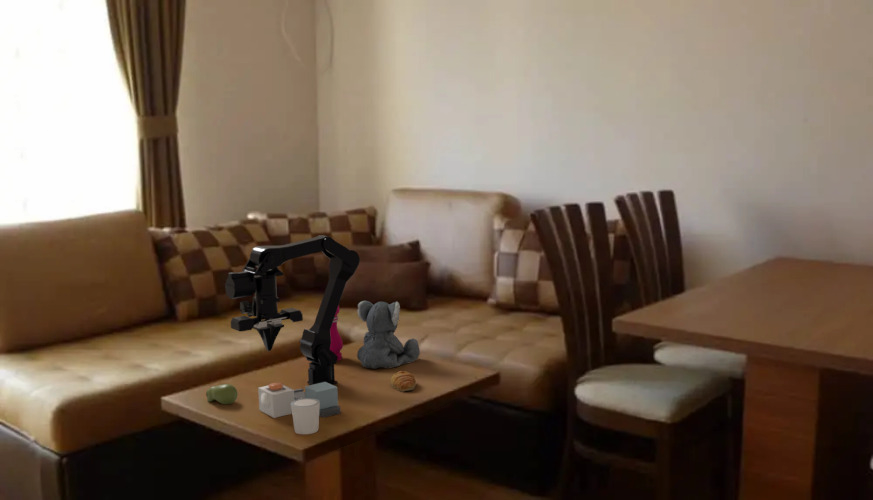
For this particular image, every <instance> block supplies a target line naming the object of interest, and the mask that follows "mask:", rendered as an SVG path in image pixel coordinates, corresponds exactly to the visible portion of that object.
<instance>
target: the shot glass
mask: <svg viewBox="0 0 873 500" xmlns="http://www.w3.org/2000/svg"><path fill="white" fill-rule="evenodd" d="M291 408H292V414H291V415H292V421H293V427H294V428H293V429H294V432H295V433H296V434H298V435H312V434H315V433H317V432H318V431H319V424H320V421H319V420H320V416H319V408H320V402H319V400H317V399H312V398H304V399H298V400H295V401H293V402H292V403H291Z"/></svg>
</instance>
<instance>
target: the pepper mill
mask: <svg viewBox="0 0 873 500" xmlns="http://www.w3.org/2000/svg"><path fill="white" fill-rule="evenodd" d="M339 313H340V305H339V306H338V308H337V311H336V314H335V317H334V320H333V323H332V326H331V329H330V335H331V345H330V350H331V351H332V352H333V353H335V354H336V355H337V356H338V359H337V362H339V361H341V360H342V359H343V353H342V352H341V351H342V350H343V347H344V343H343V339H342V337H341V335H340V333H339V330H338V322H339V315H338V314H339Z"/></svg>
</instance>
